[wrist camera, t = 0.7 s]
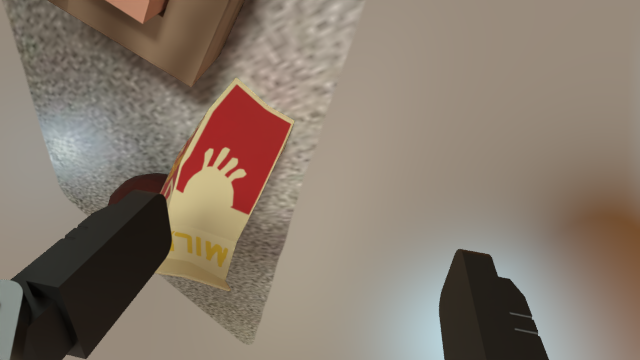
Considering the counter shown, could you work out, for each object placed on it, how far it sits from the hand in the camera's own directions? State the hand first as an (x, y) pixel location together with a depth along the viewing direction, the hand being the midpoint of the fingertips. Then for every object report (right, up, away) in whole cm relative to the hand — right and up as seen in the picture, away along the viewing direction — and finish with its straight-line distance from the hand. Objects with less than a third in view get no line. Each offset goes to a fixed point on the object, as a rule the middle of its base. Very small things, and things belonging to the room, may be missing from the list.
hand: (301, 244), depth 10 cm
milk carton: (-7, +8, +31) cm, 33 cm away
